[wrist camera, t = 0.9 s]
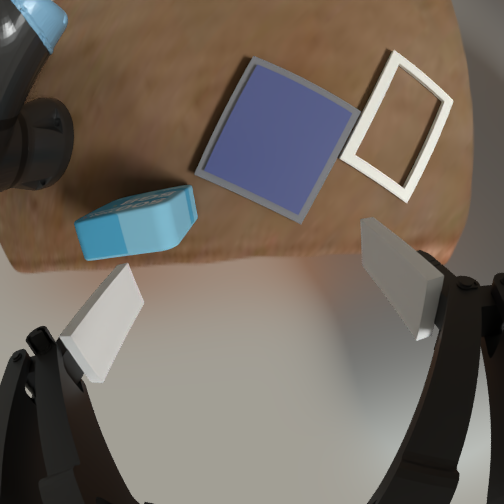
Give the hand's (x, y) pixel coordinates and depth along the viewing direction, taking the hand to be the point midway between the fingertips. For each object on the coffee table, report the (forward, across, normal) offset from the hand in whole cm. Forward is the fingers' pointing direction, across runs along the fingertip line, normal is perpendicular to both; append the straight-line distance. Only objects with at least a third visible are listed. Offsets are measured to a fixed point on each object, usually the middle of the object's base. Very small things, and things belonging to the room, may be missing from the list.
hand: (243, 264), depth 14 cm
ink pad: (+22, +5, +6) cm, 23 cm away
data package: (+22, -13, 0) cm, 26 cm away
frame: (+22, +23, +6) cm, 32 cm away
